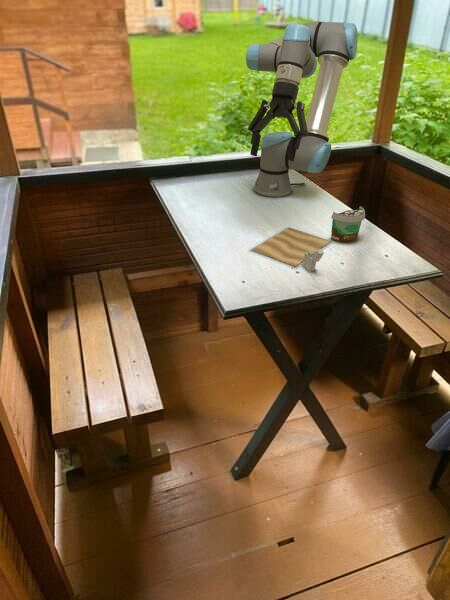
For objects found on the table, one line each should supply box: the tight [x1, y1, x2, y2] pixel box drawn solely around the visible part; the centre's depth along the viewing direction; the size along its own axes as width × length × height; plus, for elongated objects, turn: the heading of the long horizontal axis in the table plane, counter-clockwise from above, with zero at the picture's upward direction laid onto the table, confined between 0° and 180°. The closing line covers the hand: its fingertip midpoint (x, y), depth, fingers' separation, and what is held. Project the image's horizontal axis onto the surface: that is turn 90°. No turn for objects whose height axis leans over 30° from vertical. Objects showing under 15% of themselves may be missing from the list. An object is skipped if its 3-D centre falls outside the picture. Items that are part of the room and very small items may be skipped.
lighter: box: [302, 248, 325, 273], centre depth 129 cm, size 7×2×8 cm, turn 23°
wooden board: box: [251, 227, 331, 268], centre depth 143 cm, size 22×16×1 cm
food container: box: [330, 206, 366, 244], centre depth 145 cm, size 12×6×10 cm, turn 118°
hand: (271, 158), depth 136 cm, fingers open, 13 cm apart
